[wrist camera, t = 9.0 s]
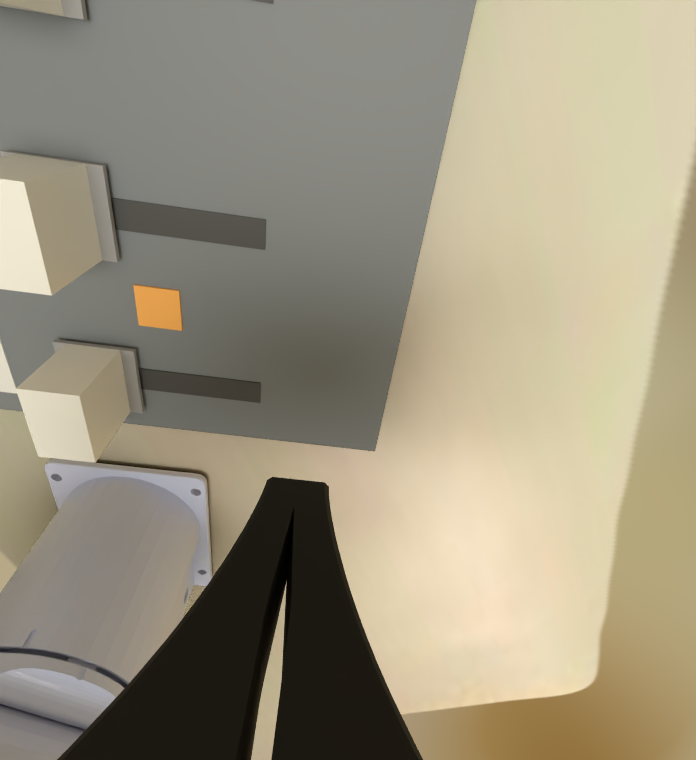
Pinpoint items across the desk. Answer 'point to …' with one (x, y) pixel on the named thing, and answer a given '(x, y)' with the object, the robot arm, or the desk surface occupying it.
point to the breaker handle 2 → (80, 399)
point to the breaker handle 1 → (50, 7)
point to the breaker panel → (239, 198)
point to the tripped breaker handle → (52, 221)
